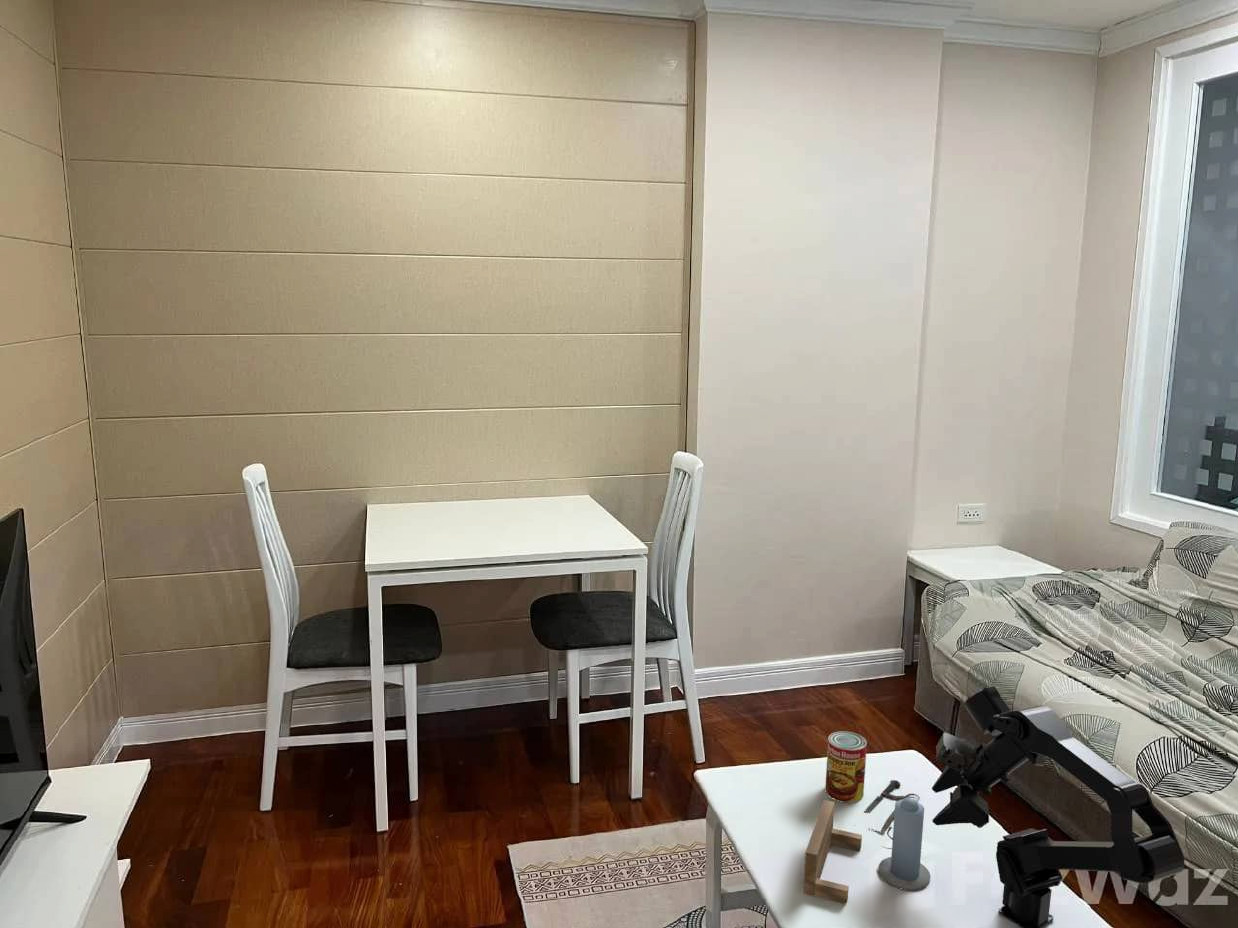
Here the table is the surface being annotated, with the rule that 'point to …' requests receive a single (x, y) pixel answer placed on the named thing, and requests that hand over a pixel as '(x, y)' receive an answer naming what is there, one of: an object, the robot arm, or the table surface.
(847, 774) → the canned food
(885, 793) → the hacksaw
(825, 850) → the walnut bench
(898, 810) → the pepper mill
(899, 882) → the coaster
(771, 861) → the table surface
